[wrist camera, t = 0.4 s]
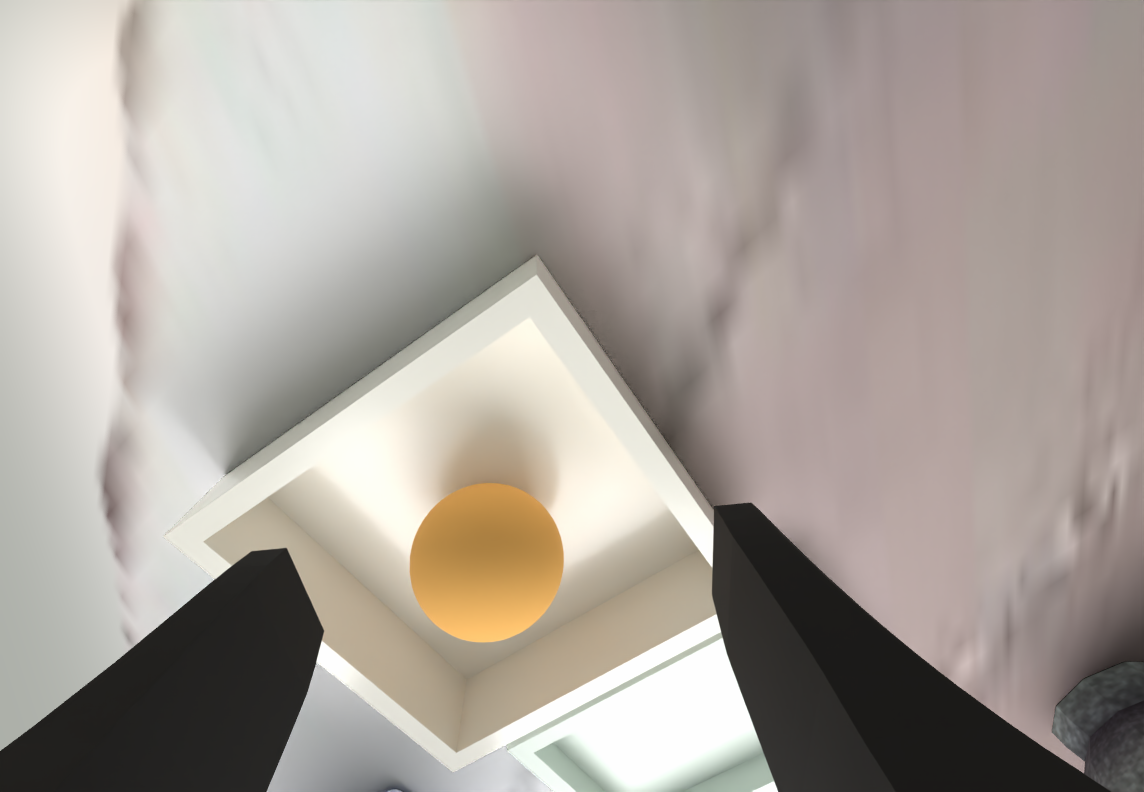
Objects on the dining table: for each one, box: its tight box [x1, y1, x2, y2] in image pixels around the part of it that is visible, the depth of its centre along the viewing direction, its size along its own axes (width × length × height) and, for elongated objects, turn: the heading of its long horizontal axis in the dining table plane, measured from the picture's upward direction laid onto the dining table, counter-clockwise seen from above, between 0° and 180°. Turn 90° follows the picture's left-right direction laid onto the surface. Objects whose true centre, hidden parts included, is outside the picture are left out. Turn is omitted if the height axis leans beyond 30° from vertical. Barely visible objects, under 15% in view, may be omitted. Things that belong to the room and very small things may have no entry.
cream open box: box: [163, 255, 721, 773], centre depth 19 cm, size 14×14×4 cm
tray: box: [507, 632, 778, 792], centre depth 25 cm, size 14×10×2 cm
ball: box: [409, 483, 564, 642], centre depth 18 cm, size 5×5×5 cm
